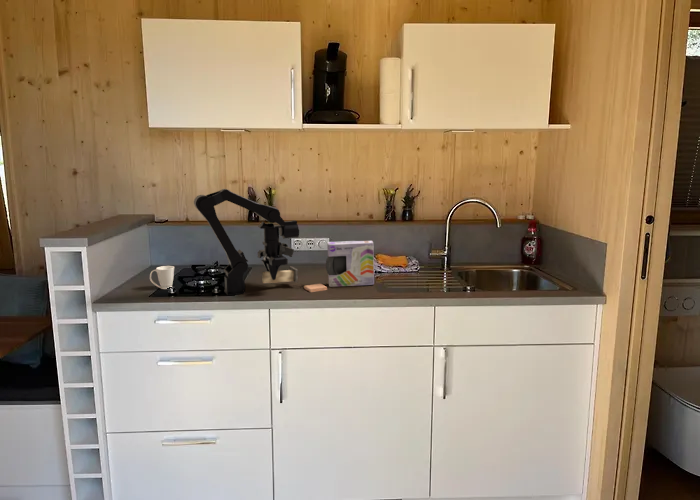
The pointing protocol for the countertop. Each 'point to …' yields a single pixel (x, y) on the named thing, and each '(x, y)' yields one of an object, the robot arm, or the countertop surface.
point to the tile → (315, 287)
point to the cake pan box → (350, 263)
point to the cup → (164, 276)
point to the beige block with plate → (281, 276)
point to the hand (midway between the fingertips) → (272, 278)
